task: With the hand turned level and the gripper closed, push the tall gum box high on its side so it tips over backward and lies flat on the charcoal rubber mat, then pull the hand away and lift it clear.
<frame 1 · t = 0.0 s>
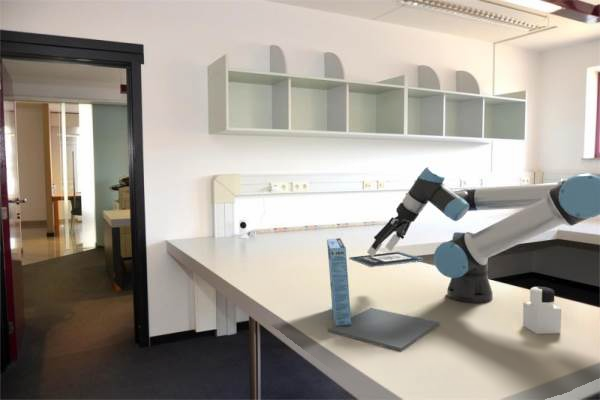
hand: (379, 251, 168), 15 cm above the table, tool tilted 35°, fingers open, 13 cm apart
gum box: (340, 316, 140), point 1 cm above the table, touching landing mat
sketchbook: (386, 261, 227), on the table
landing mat: (384, 328, 131), on the table
medicine bottle: (541, 330, 128), on the table
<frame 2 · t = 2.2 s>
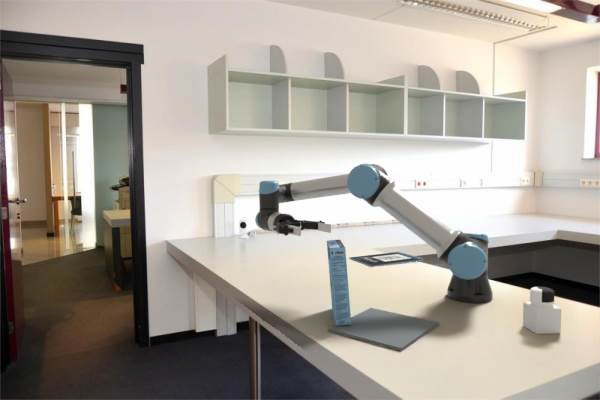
hand: (315, 230, 149), 26 cm above the table, tool horizontal, fingers open, 11 cm apart
gum box: (340, 317, 140), on the table, touching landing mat
everything else where it was.
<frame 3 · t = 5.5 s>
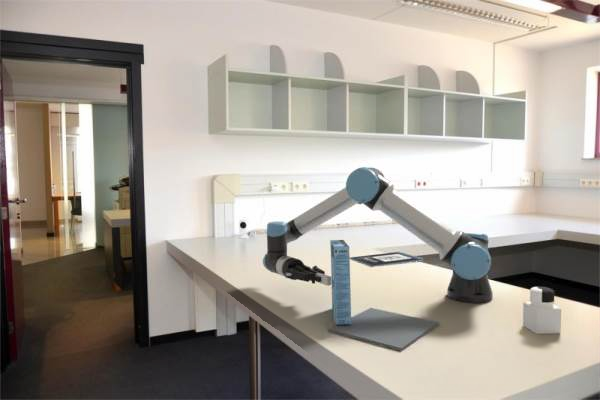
hand: (329, 281, 143), 11 cm above the table, tool horizontal, fingers closed
gum box: (340, 316, 140), on the table, touching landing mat
everything else where it was.
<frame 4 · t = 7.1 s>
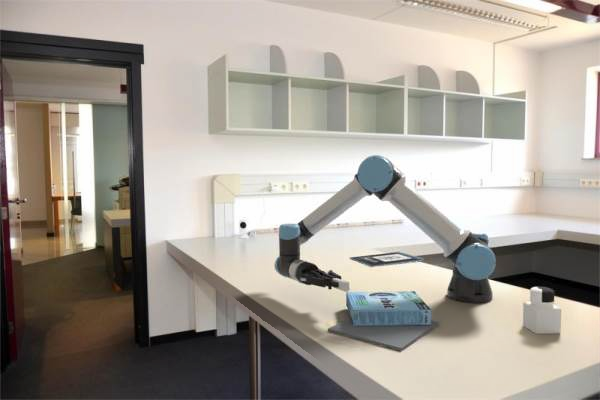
hand: (347, 286, 136), 11 cm above the table, tool horizontal, fingers closed
gum box: (348, 307, 140), point 3 cm above the table, touching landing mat
everything else where it was.
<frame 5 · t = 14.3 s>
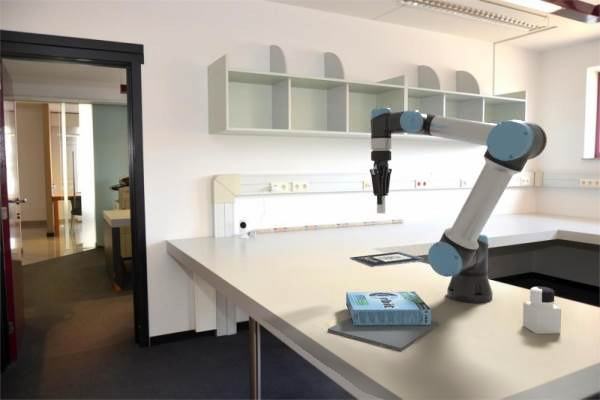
hand: (381, 213, 170), 29 cm above the table, tool pointing down, fingers closed
nothing on the table moved.
at the end: gum box tilted 91°; gum box touching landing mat; gum box inside the target area (2.2 cm from its centre), point 3.4 cm above the table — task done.
